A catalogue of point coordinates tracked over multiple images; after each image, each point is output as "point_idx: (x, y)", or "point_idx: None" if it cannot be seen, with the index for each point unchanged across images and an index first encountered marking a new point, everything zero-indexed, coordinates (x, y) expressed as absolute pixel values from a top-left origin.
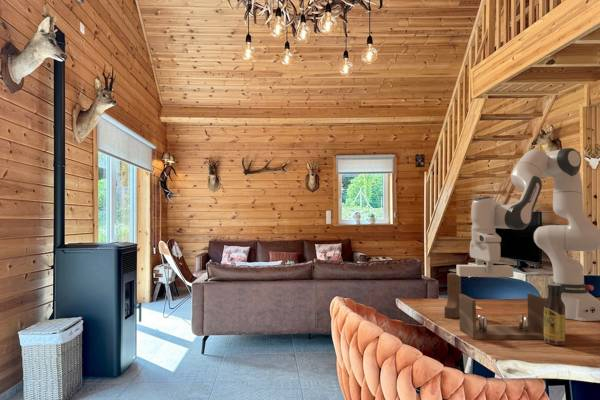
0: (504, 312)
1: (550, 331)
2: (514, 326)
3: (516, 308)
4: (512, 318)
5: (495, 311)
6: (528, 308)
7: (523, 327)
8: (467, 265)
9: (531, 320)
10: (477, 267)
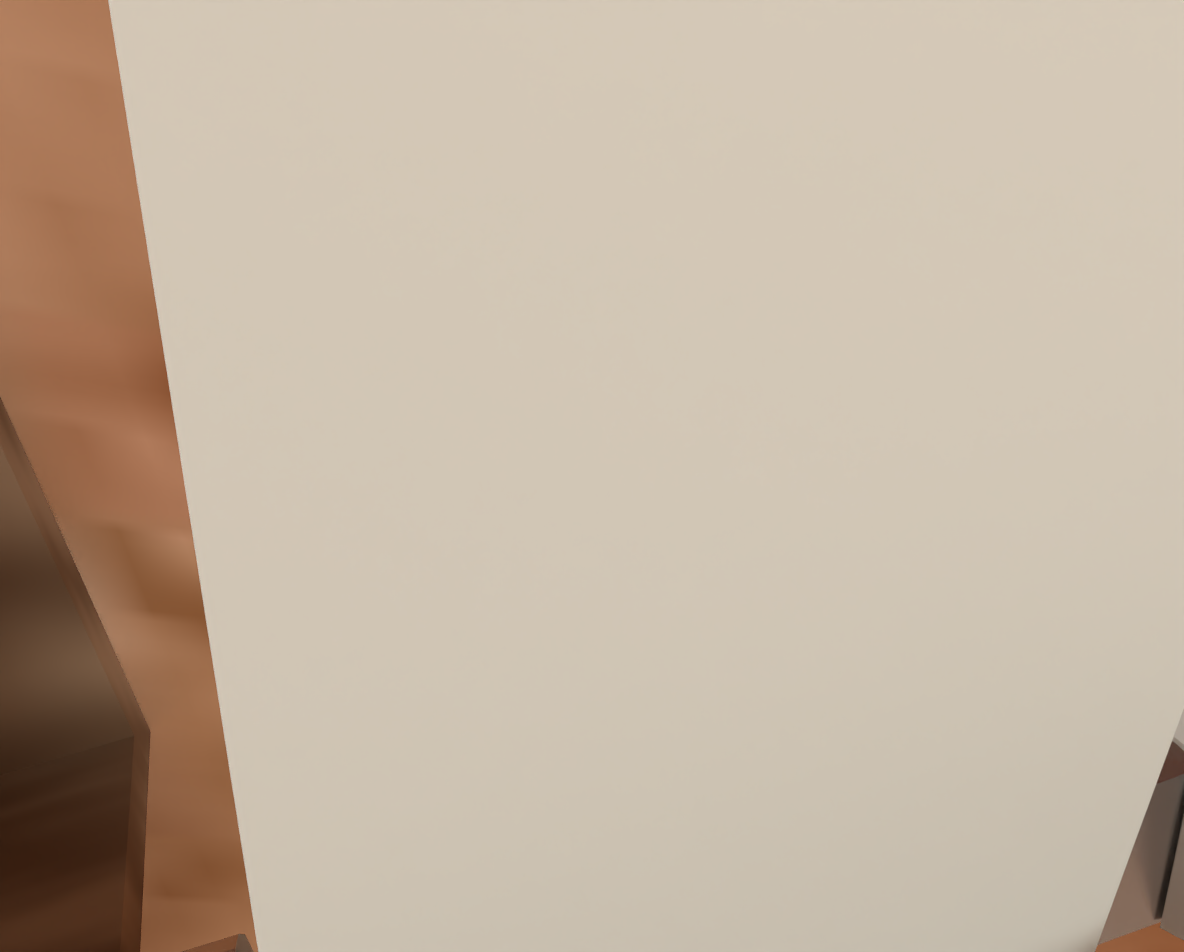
0: None
1: None
2: (26, 580)
3: None
4: None
5: None
6: (95, 937)
7: (3, 677)
8: (926, 177)
9: (31, 833)
10: (244, 775)
